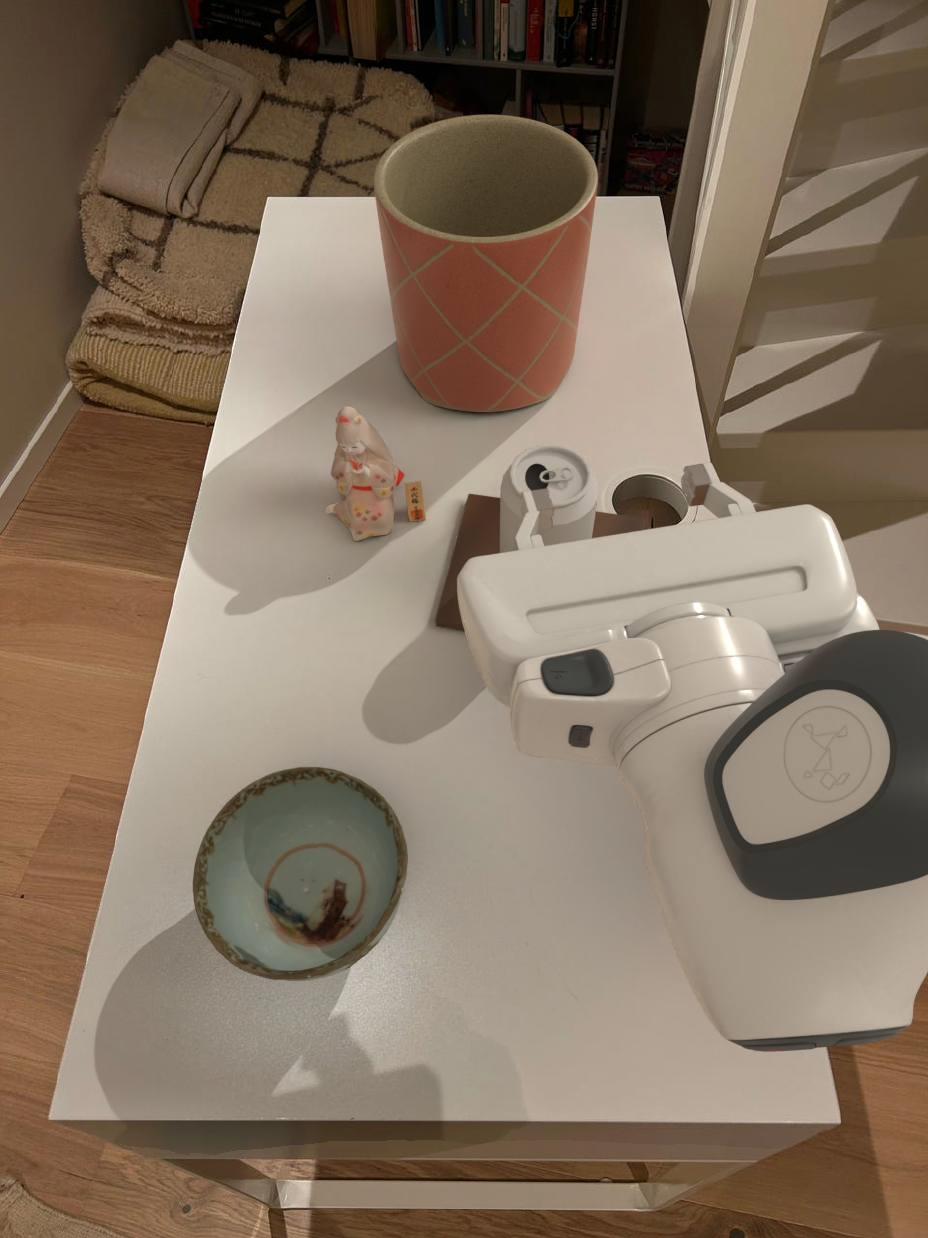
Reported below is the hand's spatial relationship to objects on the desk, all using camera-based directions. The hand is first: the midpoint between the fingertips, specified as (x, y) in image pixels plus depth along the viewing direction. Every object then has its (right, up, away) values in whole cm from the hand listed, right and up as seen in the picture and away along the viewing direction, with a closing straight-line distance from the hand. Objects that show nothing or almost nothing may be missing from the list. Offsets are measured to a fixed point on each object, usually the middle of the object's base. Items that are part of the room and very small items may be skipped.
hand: (614, 483), depth 52 cm
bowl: (-19, -28, +12) cm, 36 cm away
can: (-2, -3, +27) cm, 27 cm away
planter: (-6, +19, +43) cm, 47 cm away
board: (-2, -4, +27) cm, 28 cm away
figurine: (-17, +2, +32) cm, 36 cm away
